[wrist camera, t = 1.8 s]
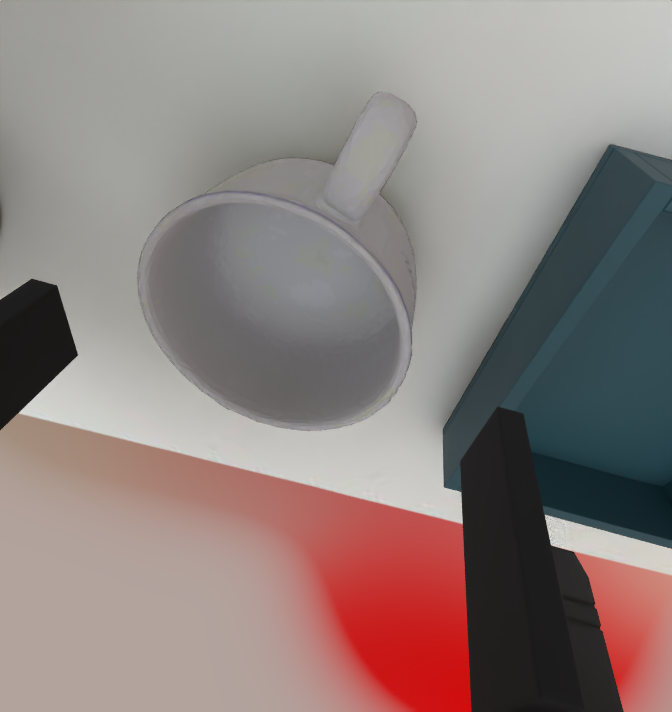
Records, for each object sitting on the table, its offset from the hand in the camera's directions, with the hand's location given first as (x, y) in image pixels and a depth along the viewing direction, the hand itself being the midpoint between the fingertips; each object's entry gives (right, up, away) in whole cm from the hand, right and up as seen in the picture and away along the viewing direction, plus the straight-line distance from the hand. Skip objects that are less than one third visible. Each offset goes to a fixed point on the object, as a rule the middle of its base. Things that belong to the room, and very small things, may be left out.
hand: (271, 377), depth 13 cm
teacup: (+2, +7, +8) cm, 11 cm away
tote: (+19, 0, +10) cm, 21 cm away
